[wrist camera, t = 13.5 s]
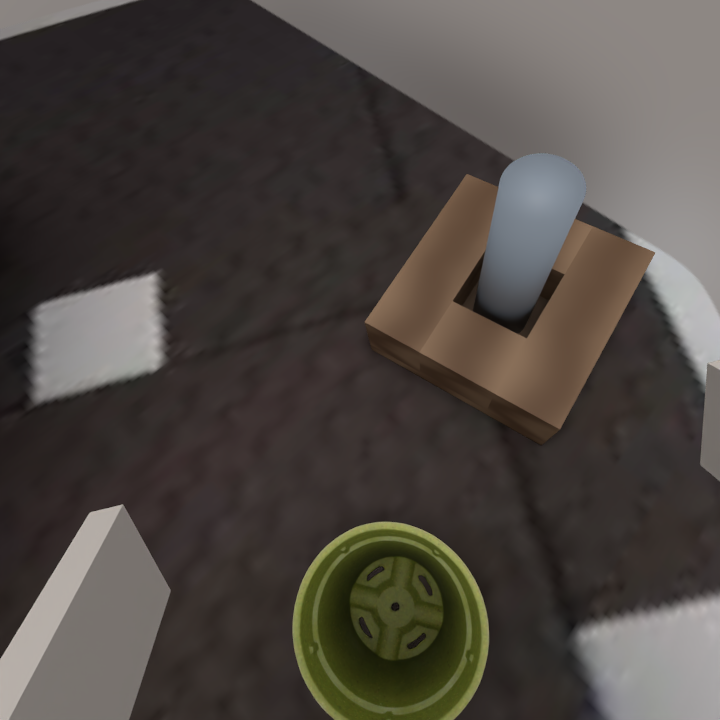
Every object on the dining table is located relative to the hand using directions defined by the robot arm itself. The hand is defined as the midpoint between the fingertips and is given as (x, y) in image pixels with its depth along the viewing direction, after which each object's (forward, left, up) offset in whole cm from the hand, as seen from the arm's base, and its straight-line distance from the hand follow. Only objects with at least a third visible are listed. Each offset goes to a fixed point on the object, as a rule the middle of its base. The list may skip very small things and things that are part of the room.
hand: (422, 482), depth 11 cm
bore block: (-3, +16, -24) cm, 29 cm away
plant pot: (+1, -5, -24) cm, 25 cm away
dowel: (-3, +16, -23) cm, 28 cm away
